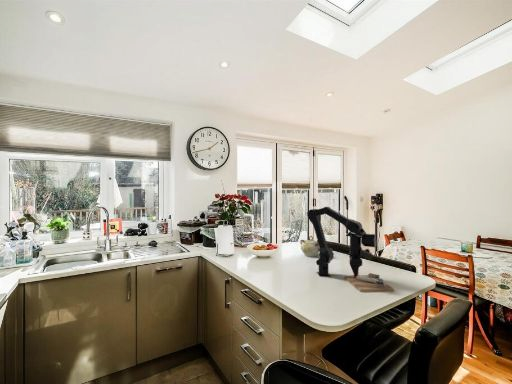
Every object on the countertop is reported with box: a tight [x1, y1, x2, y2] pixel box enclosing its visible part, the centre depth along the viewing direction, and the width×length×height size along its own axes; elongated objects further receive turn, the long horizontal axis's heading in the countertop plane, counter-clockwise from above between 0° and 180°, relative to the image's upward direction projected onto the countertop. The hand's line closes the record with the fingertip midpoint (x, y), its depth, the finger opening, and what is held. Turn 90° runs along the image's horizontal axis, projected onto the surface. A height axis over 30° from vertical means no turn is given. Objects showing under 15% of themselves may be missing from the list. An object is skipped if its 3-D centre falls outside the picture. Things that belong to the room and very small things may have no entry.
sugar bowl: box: [299, 235, 320, 257], centre depth 193 cm, size 20×15×15 cm
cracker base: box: [343, 272, 395, 293], centre depth 133 cm, size 20×17×4 cm
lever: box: [354, 269, 384, 284], centre depth 133 cm, size 15×3×6 cm, turn 47°
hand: (355, 273), depth 137 cm, fingers open, 9 cm apart
